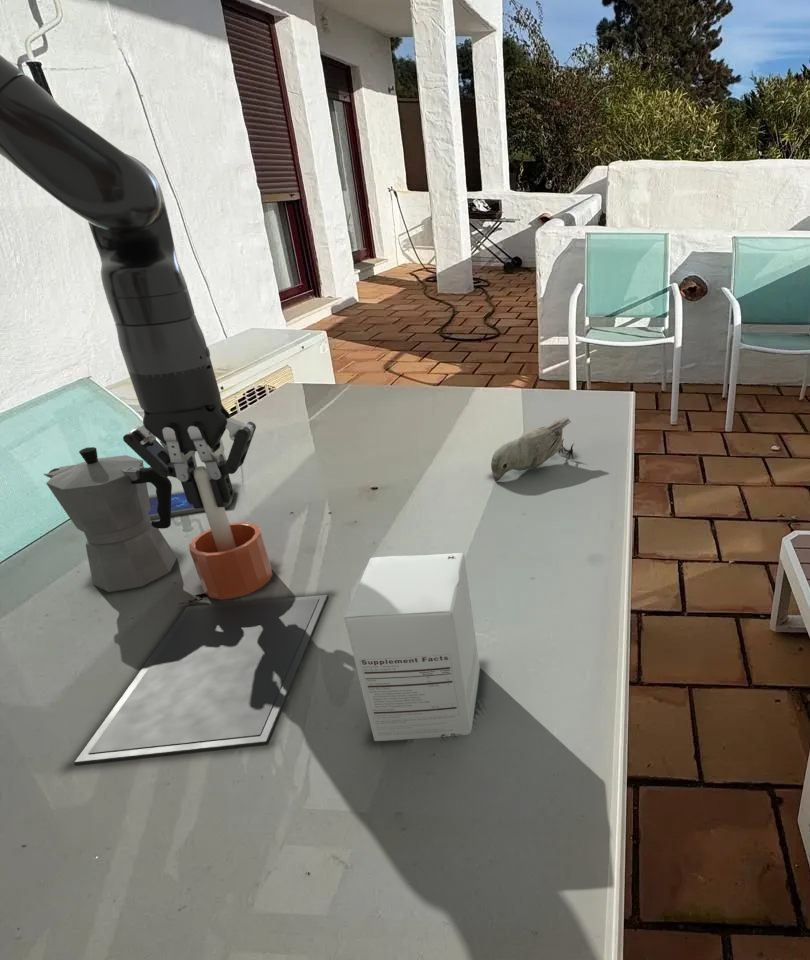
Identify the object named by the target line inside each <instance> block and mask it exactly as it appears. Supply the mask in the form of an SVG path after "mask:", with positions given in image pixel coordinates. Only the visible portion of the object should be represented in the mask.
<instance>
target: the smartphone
mask: <svg viewBox="0 0 810 960" xmlns="http://www.w3.org/2000/svg"><path fill="white" fill-rule="evenodd" d="M232 487H233V491H234V494H235V493H236V488H235V486H234V485H232ZM233 499H234V497H233V498H232V499H231V500H230V502H229V503H228V505H227V506H226V507H224V508H225V509H227V508H228V507H230V506H231V504H232V502H233ZM149 501H150V507H151V509H150V511H149V513H148V515H149V518H150V520H151V521H153V520H157V519H160V517H159V514H158V512H157V507H158V500H157V496H153V497H149ZM203 512H204V513H205V509H204V507H203V508H201V509H195V508H194V506H193V504H189V502H188V501H187V499H186V496H185V493H184V492H177V493H171V517H177V516H183V515H189V514H197V513H203Z"/></svg>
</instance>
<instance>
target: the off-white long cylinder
mask: <svg viewBox="0 0 810 960" xmlns="http://www.w3.org/2000/svg"><path fill="white" fill-rule="evenodd" d="M194 478H195V481H196V484H197V487H198V491H199V494H200V497H201V500H202V503H203V506H204V509H205V511H204V513H205V516H206V518H207V523H208V525H209V529H211V531H212V535H213V538H214V541H215V544H216V547H217V550H218V552H223V551H227V550H231V549H234V548H236V544H235V541H234V538H233V534H232V531H231V528H230V524H229V523H230V522H229V518H228V515H227V512H226V511H227V510H226V508H224V507H218V506H217V504H216V500H215V497H214V494H213V491H212V487H211V484H210V479H211V477H210V475H209V473H208V470H207V468H206V465H205V464H204V465H203V464H202V465H199V466H197V468H196V469H195V470H194Z"/></svg>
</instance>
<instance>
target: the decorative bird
mask: <svg viewBox="0 0 810 960" xmlns="http://www.w3.org/2000/svg"><path fill="white" fill-rule="evenodd" d="M571 423H572V421H571V419H570V417H569V416H565V417H560V418H559V419H558V420H554V421H553V422H551V423H549V424H548V425H545V426H542V427H538V428H535V429H532V430H530V431H527V432H525V433H524V434H522V435H521V436H519V437H518V438H516V439H514V440H512V441H507V442H505V443H503V444H501V445H500V446H498V447H497V448H496V449H495V450H494V452H493V454H492V457H491V461H490V468H491V475H492V478H493V480H494V482H495V483H497V482H498V481H499V480H500V479H502V478H503V476H505V474H506V473H508V472H509V471H511V470H515V471H519V472H521V471H522V472H523V471H526V470H534V469H537V468H538V467H540V466H541V465H543V464H544V463H545V462H546V461H548V460H549V459H551V458H552V457H554V456H555V455H556V453H557V452H558V455H559V456H560V453H562V454H563V455H566V456H565V457H567V456H568V458H570V457H571V458H572V459H573V460H574V459H575V457H574V456H573V454H574V450H573V447H574V443H572V444H571V445H570V448H569V449H566V448H565V446H564V444H563V443H564V439H565V438H563V432H564V431H563V429H565V427H566V426H568V425H569V424H571ZM564 452H567V453H566V454H564Z"/></svg>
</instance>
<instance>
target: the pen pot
mask: <svg viewBox="0 0 810 960" xmlns="http://www.w3.org/2000/svg"><path fill="white" fill-rule="evenodd" d="M229 524H230V528H231V531H232V534H233V538H234V541H235V544H236V548H234V549H231V550H227V551H223V552H218V550H217V547H216V544H215V541H214V538H213V535H212V531H211V528H209V529H206V530H205V531H203V532H201V533H200V534H198V535H196V536H195V537H194V538H193V539H192V540H191V541H190V543H189V545H188V549H189V550H188V551H189V553H190V555H191V558H192V562H193V564H194V567H195V570H196V573H197V576H198V578H199V582H200V585H201V587H202V590H203V593H204V594H205V596H206V595H207V596H208V597H209V598H211V599H216V600H229V599H236V598H240V597H243V596H247V595H250V594H252V593H254V592H255V591H258V590H259V589H261V588H262V587H263V586H265V585H266V584H267V583H269V581H270V580H271V579H272V577H273V569H272V565H271V562H270V559H269V556H268V552H267V548H266V545H265V542H264V538H263V534H262V531H261V528H260V527H259V526H258V525H257V524H255V523H252V522H245V521H244V522H242V521H241V522H240V521H239V522H229Z"/></svg>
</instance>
